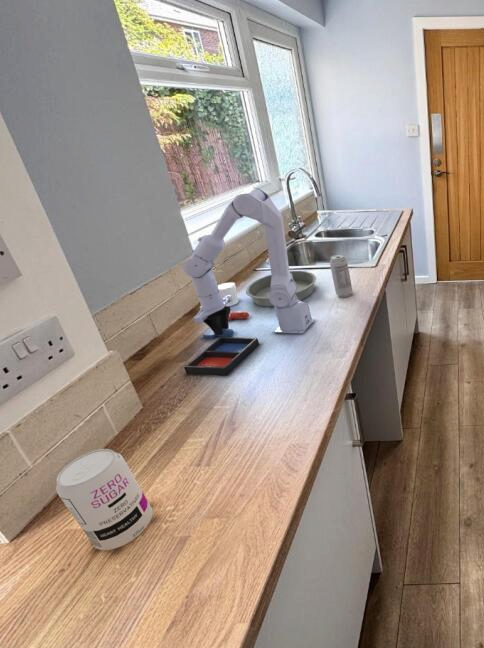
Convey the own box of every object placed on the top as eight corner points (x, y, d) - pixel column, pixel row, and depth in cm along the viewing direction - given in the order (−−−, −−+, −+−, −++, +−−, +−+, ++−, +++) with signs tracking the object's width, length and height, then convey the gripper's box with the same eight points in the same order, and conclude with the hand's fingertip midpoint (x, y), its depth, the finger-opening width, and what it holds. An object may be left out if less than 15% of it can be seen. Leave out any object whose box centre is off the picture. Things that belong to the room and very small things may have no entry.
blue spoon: (237, 333, 128) (235, 326, 127) (230, 338, 125) (228, 332, 124) (211, 332, 129) (208, 326, 128) (203, 338, 126) (201, 331, 125)
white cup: (231, 307, 145) (225, 290, 142) (215, 306, 146) (209, 289, 143) (244, 299, 151) (239, 282, 148) (228, 298, 152) (223, 281, 149)
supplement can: (117, 509, 73) (79, 448, 66) (164, 504, 73) (131, 443, 67) (82, 555, 65) (35, 492, 59) (135, 549, 66) (94, 486, 59)
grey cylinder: (350, 289, 154) (343, 252, 148) (355, 295, 149) (348, 257, 143) (334, 293, 151) (326, 256, 145) (338, 299, 147) (331, 261, 140)
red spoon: (252, 316, 138) (250, 309, 137) (246, 321, 135) (244, 314, 134) (227, 315, 139) (225, 309, 138) (220, 320, 136) (218, 314, 135)
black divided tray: (259, 344, 121) (257, 337, 120) (227, 375, 108) (224, 368, 106) (223, 343, 122) (220, 336, 121) (186, 374, 109) (183, 366, 108)
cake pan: (241, 313, 140) (237, 302, 138) (257, 285, 162) (254, 275, 160) (315, 303, 145) (312, 291, 143) (320, 277, 167) (318, 267, 165)
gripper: (212, 282, 128) (225, 320, 133) (178, 304, 115) (194, 344, 120) (233, 282, 127) (245, 320, 132) (200, 304, 114) (215, 344, 119)
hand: (222, 331), depth 126 cm, fingers closed on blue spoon, 2 cm apart
